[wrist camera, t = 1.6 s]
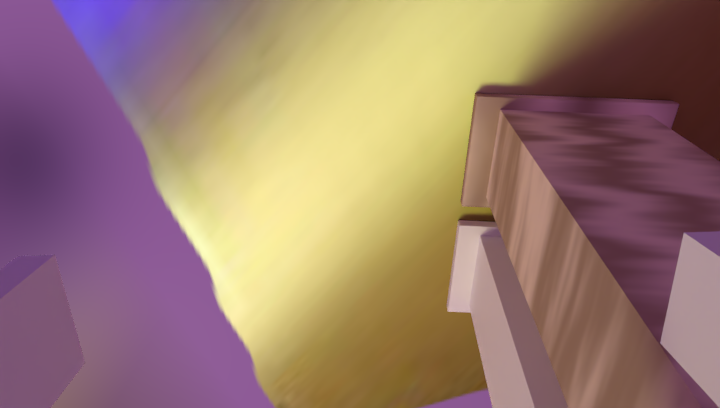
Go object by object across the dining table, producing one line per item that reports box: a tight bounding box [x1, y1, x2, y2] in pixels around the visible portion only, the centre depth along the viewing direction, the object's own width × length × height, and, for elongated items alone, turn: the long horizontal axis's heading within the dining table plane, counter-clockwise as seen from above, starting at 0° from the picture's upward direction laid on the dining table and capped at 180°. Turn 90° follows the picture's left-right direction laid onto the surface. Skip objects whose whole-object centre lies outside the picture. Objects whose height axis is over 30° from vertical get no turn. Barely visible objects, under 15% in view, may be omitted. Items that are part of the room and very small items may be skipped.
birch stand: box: [461, 93, 720, 408], centre depth 28 cm, size 16×10×34 cm, turn 88°
